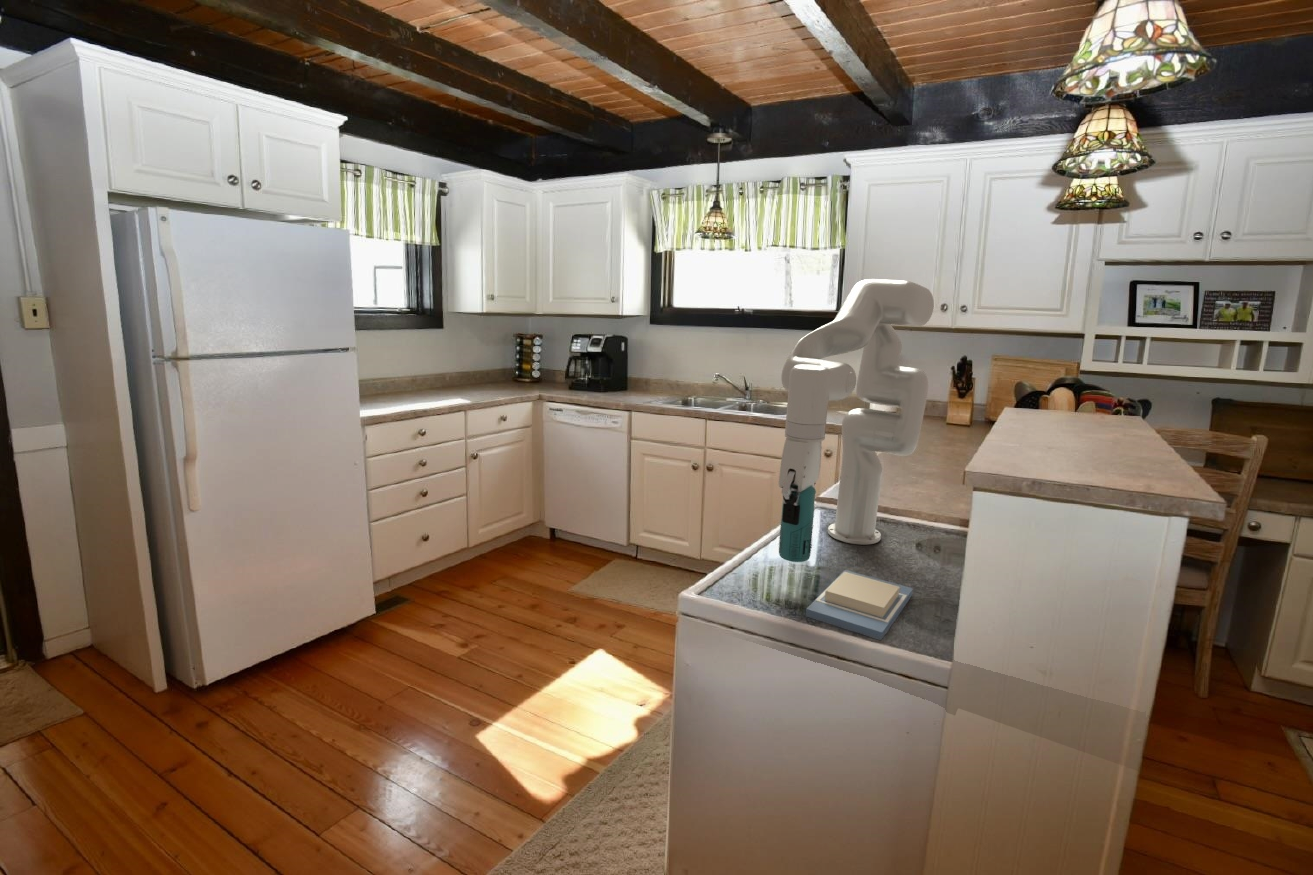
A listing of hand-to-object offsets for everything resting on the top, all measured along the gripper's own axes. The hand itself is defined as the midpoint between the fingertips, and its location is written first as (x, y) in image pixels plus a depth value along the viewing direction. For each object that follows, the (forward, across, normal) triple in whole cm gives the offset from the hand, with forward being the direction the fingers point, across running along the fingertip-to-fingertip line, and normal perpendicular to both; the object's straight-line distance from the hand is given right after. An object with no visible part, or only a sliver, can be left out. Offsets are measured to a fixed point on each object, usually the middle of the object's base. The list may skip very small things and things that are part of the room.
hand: (797, 517), depth 137 cm
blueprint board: (+15, -1, +14) cm, 21 cm away
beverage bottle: (+10, 0, 0) cm, 10 cm away
